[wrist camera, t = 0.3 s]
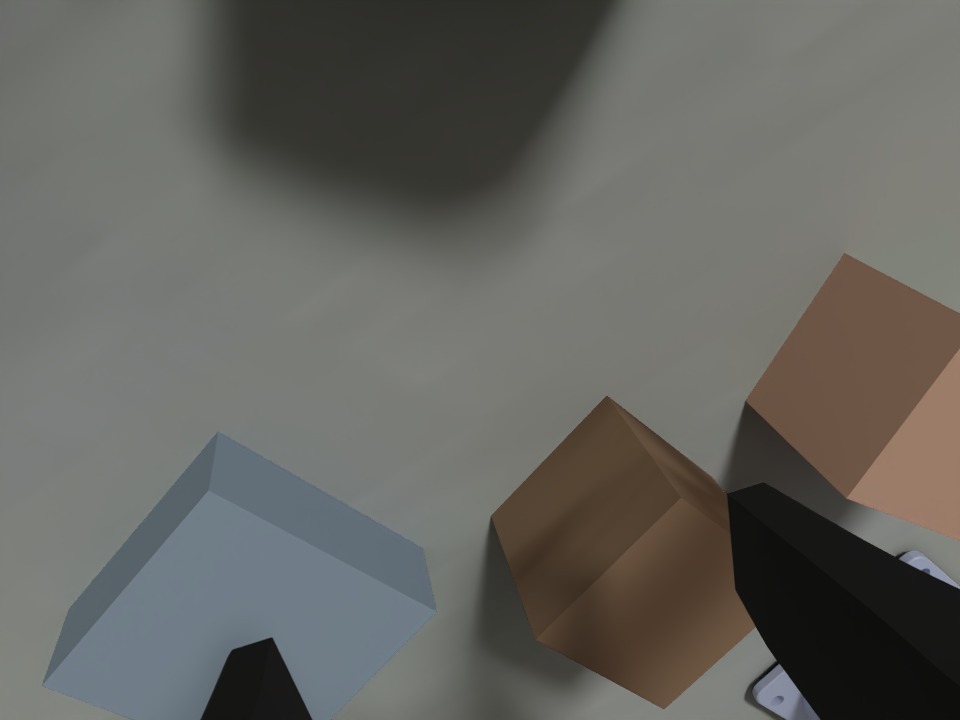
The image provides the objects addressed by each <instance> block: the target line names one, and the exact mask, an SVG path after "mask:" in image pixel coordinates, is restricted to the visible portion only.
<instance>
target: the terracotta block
mask: <svg viewBox="0 0 960 720" xmlns="http://www.w3.org/2000/svg"><path fill="white" fill-rule="evenodd" d="M746 402H747V403H748V404H749V405H750V406H751V407H752V408H753V409H754V410H755V411H756V412H757V413H759V414H760V415H761V416H762V417H763V418H764V419H765V420H766V421H767V422H768V423H769V424H770V425H771V426H772V427H773V428H774V429H775V430H776V431H777V432H778V433H779V434H780V435H781V436H782V437H783V438H784V439H785V440H786V441H787V442H788V443H790V444H791V445H792V446H793V447H794V448H795V449H796V450H797V451H798V452H799V453H800V454H801V455H802V456H803V457H804V458H805V459H806V460H807V461H808V462H809V463H810V464H811V465H812V466H813V467H814V468H815V469H816V470H817V471H818V472H819V473H821V474H822V475H823V476H824V477H825V478H826V479H827V480H828V481H829V482H830V483H831V484H832V485H833V486H834V487H835V488H836V489H837V490H838V491H839V492H840V493H841V494H842V495H843V496H844V497H845V498H846V499H849V500H852V501H854V502H857V503H860V504H862V505H865V506H868V507H870V508H873V509H876V510H879V511H881V512H884V513H887V514H889V515H892V516H895V517H897V518H900V519H903V520H906V521H908V522H911V523H914V524H916V525H919V526H922V527H924V528H927V529H930V530H933V531H935V532H938V533H941V534H943V535H946V536H949V537H951V538H954V539H957V540H960V313H958V312H956V311H954V310H952V309H950V308H948V307H946V306H944V305H942V304H941V303H939V302H937V301H935V300H933V299H931V298H929V297H927V296H925V295H923V294H921V293H920V292H918V291H916V290H914V289H912V288H910V287H908V286H906V285H904V284H902V283H900V282H899V281H897V280H895V279H893V278H891V277H889V276H887V275H885V274H883V273H881V272H880V271H878V270H876V269H874V268H872V267H870V266H868V265H866V264H864V263H862V262H860V261H859V260H857V259H855V258H853V257H851V256H849V255H847V254H845V253H844V255H843V256H842V258H841V259H840V261H839V262H838V264H837V265H836V267H835V268H834V269H833V271H832V272H831V274H830V275H829V277H828V278H827V280H826V281H825V283H824V284H823V286H822V287H821V289H820V290H819V292H818V293H817V295H816V296H815V298H814V299H813V301H812V302H811V304H810V305H809V307H808V308H807V310H806V311H805V313H804V314H803V316H802V317H801V319H800V320H799V322H798V323H797V325H796V326H795V328H794V329H793V331H792V332H791V334H790V335H789V337H788V338H787V340H786V341H785V343H784V344H783V346H782V347H781V349H780V350H779V352H778V353H777V355H776V356H775V358H774V359H773V361H772V362H771V364H770V365H769V367H768V368H767V370H766V371H765V373H764V374H763V376H762V377H761V378H760V380H759V381H758V383H757V384H756V386H755V387H754V389H753V390H752V392H751V393H750V395H749V396H748V398H747V399H746Z"/></svg>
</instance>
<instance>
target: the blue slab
mask: <svg viewBox="0 0 960 720" xmlns="http://www.w3.org/2000/svg"><path fill="white" fill-rule="evenodd" d="M436 612H437V610H436V606H435V601H434V597H433V592H432V588H431V583H430V579H429V574H428V570H427V565H426V561H425V556H424V552H423V548H422V547H420V546H418V545H417V544H415V543H413V542H411V541H410V540H408V539H406V538H404V537H403V536H401V535H399V534H397V533H396V532H394V531H392V530H390V529H389V528H387V527H385V526H383V525H382V524H380V523H378V522H376V521H375V520H373V519H371V518H369V517H368V516H366V515H364V514H362V513H361V512H359V511H357V510H355V509H354V508H352V507H350V506H348V505H347V504H345V503H343V502H341V501H340V500H338V499H336V498H334V497H333V496H331V495H329V494H327V493H326V492H324V491H322V490H320V489H319V488H317V487H315V486H313V485H312V484H310V483H308V482H306V481H305V480H303V479H301V478H299V477H298V476H296V475H294V474H292V473H291V472H289V471H287V470H285V469H284V468H282V467H280V466H278V465H277V464H275V463H273V462H271V461H270V460H268V459H266V458H264V457H263V456H261V455H259V454H257V453H256V452H254V451H252V450H250V449H249V448H247V447H245V446H243V445H242V444H240V443H238V442H236V441H235V440H233V439H231V438H229V437H228V436H226V435H224V434H222V433H221V432H219V431H218V432H217V434H216V435H215V436H214V437H213V438H212V439H211V441H210V442H209V443H208V444H207V445H206V447H205V448H204V449H203V450H202V451H201V453H200V454H199V455H198V456H197V457H196V459H195V460H194V461H193V462H192V463H191V464H190V466H189V467H188V468H187V469H186V470H185V472H184V473H183V474H182V475H181V476H180V478H179V479H178V480H177V481H176V482H175V483H174V485H173V486H172V487H171V488H170V489H169V491H168V492H167V493H166V494H165V495H164V497H163V498H162V499H161V500H160V501H159V503H158V504H157V505H156V506H155V507H154V508H153V510H152V511H151V512H150V513H149V514H148V516H147V517H146V518H145V519H144V520H143V522H142V523H141V524H140V525H139V526H138V528H137V529H136V530H135V531H134V532H133V533H132V535H131V536H130V537H129V538H128V539H127V541H126V542H125V543H124V544H123V545H122V547H121V548H120V549H119V550H118V551H117V553H116V554H115V555H114V556H113V557H112V558H111V560H110V561H109V562H108V563H107V564H106V566H105V567H104V568H103V569H102V570H101V572H100V573H99V574H98V575H97V576H96V577H95V579H94V580H93V581H92V582H91V583H90V585H89V586H88V587H87V588H86V589H85V591H84V592H83V593H82V594H81V595H80V597H79V598H78V599H77V600H76V601H75V602H74V604H73V605H72V606H71V607H70V608H69V610H68V613H67V616H66V619H65V622H64V624H63V627H62V630H61V633H60V636H59V639H58V641H57V644H56V647H55V650H54V653H53V656H52V658H51V661H50V664H49V667H48V670H47V673H46V675H45V678H44V681H43V684H42V686H43V687H46V688H48V689H51V690H54V691H56V692H59V693H62V694H65V695H67V696H70V697H73V698H75V699H78V700H81V701H84V702H86V703H89V704H92V705H94V706H97V707H100V708H103V709H105V710H108V711H111V712H113V713H116V714H119V715H121V716H124V717H127V718H130V719H132V720H200V719H201V717H202V715H203V712H204V710H205V708H206V706H207V703H208V701H209V699H210V696H211V694H212V692H213V690H214V687H215V685H216V683H217V680H218V678H219V676H220V673H221V671H222V669H223V666H224V664H225V662H226V659H227V657H228V655H229V654H230V652H231V651H232V649H236V648H239V647H242V646H245V645H248V644H252V643H255V642H258V641H261V640H264V639H267V638H271V637H273V639H274V642H275V644H276V646H277V648H278V650H279V652H280V654H281V656H282V658H283V660H284V662H285V664H286V666H287V668H288V670H289V672H290V674H291V676H292V679H293V681H294V683H295V685H296V687H297V689H298V691H299V693H300V695H301V697H302V699H303V701H304V703H305V705H306V707H307V709H308V711H309V713H310V716H311V718H312V720H331V719H332V718H333V717H334V716H335V715H336V714H337V713H338V712H339V711H340V710H341V709H342V708H343V707H344V706H345V705H346V704H347V703H348V702H349V701H350V700H351V699H352V698H353V697H354V696H355V695H356V694H357V693H358V692H359V691H360V690H361V689H362V688H363V686H364V685H365V684H366V683H367V682H368V681H369V680H370V679H371V678H372V677H373V676H374V675H375V674H376V673H377V672H378V671H379V670H380V669H381V668H382V667H383V666H384V665H385V664H386V663H387V662H388V661H389V660H390V659H391V658H392V657H393V656H394V655H395V654H396V653H397V652H398V651H399V650H400V649H401V648H402V647H403V646H404V645H405V644H406V643H407V642H408V641H409V640H410V639H411V638H412V637H413V636H414V635H415V634H416V633H417V632H418V631H419V630H420V628H421V627H422V626H423V625H424V624H425V623H426V622H427V621H428V620H429V619H430V618H431V617H432V616H433V615H434V614H435V613H436Z"/></svg>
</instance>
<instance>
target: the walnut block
mask: <svg viewBox="0 0 960 720" xmlns="http://www.w3.org/2000/svg"><path fill="white" fill-rule="evenodd" d="M491 517H492V520H493V523H494V526H495V528H496V531H497V534H498V537H499V540H500V542H501V545H502V548H503V551H504V554H505V556H506V559H507V562H508V565H509V568H510V570H511V573H512V576H513V579H514V582H515V584H516V587H517V590H518V593H519V596H520V599H521V601H522V604H523V607H524V610H525V613H526V615H527V618H528V621H529V624H530V627H531V629H532V632H533V635H534V638H535V640H536V641H538V642H540V643H542V644H544V645H546V646H548V647H549V648H551V649H553V650H555V651H557V652H559V653H561V654H562V655H564V656H566V657H568V658H570V659H572V660H574V661H575V662H577V663H579V664H581V665H583V666H585V667H586V668H588V669H590V670H592V671H594V672H596V673H598V674H599V675H601V676H603V677H605V678H607V679H609V680H611V681H612V682H614V683H616V684H618V685H620V686H622V687H624V688H625V689H627V690H629V691H631V692H633V693H635V694H637V695H638V696H640V697H642V698H644V699H646V700H648V701H650V702H651V703H653V704H655V705H657V706H659V707H661V708H662V709H665V708H666V707H667V706H668V705H669V704H671V703H672V702H673V701H674V700H675V699H676V698H677V697H678V696H679V695H681V694H682V693H683V692H684V691H685V690H686V689H687V688H688V687H689V686H691V685H692V684H693V683H694V682H695V681H696V680H697V679H698V678H699V677H701V676H702V675H703V674H704V673H705V672H706V671H707V670H708V669H709V668H711V667H712V666H713V665H714V664H715V663H716V662H717V661H718V660H719V659H721V658H722V657H723V656H724V655H725V654H726V653H727V652H728V651H729V650H731V649H732V648H733V647H734V646H735V645H736V644H737V643H738V642H739V641H741V640H742V639H743V638H744V637H745V636H746V635H747V634H748V633H749V632H751V631H752V630H753V629H754V628H755V627H756V626H755V625H754V623H753V621H752V619H751V618H750V616H749V614H748V612H747V610H746V608H745V607H744V605H743V603H742V601H741V599H740V598H739V596H738V594H737V592H736V590H735V582H734V570H733V558H732V546H731V535H730V523H729V511H728V499H727V495H726V494H725V492H724V491H723V490H722V489H721V487H720V486H719V485H718V484H717V483H716V481H715V480H714V479H713V478H712V477H711V476H710V475H708V474H707V473H706V472H705V471H703V470H702V469H701V468H699V467H698V466H697V465H696V464H694V463H693V462H692V461H690V460H689V459H688V458H687V457H685V456H684V455H683V454H681V453H680V452H679V451H678V450H676V449H675V448H674V447H672V446H671V445H670V444H669V443H667V442H666V441H665V440H663V439H662V438H661V437H660V436H658V435H657V434H656V433H654V432H653V431H652V430H651V429H649V428H648V427H647V426H645V425H644V424H643V423H642V422H640V421H639V420H638V419H636V418H635V417H634V416H633V415H631V414H630V413H629V412H627V411H626V410H625V409H624V408H622V407H621V406H620V405H618V404H617V403H616V402H615V401H613V400H612V399H611V398H609V397H608V396H606V397H605V398H604V399H603V400H602V401H601V402H600V403H599V404H598V405H597V406H596V407H595V408H594V409H593V410H592V412H591V413H590V414H589V415H588V416H587V417H586V418H585V419H584V420H583V421H582V422H581V423H580V424H579V425H578V426H577V427H576V428H575V429H574V430H573V431H572V432H571V433H570V434H569V435H568V436H567V438H566V439H565V440H564V441H563V442H562V443H561V444H560V445H559V446H558V447H557V448H556V449H555V450H554V451H553V452H552V453H551V454H550V455H549V456H548V457H547V458H546V459H545V460H544V461H543V462H542V464H541V465H540V466H539V467H538V468H537V469H536V470H535V471H534V472H533V473H532V474H531V475H530V476H529V477H528V478H527V479H526V480H525V481H524V482H523V483H522V484H521V485H520V486H519V487H518V488H517V490H516V491H515V492H514V493H513V494H512V495H511V496H510V497H509V498H508V499H507V500H506V501H505V502H504V503H503V504H502V505H501V506H500V507H499V508H498V509H497V510H496V511H495V512H494V513H493V514H492V516H491Z"/></svg>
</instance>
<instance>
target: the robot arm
mask: <svg viewBox="0 0 960 720" xmlns="http://www.w3.org/2000/svg"><path fill="white" fill-rule="evenodd" d="M727 499H728V511H729V523H730V535H731V546H732V558H733V570H734V582H735V590H736V592H737V594H738V596H739V598H740V599H741V601H742V603H743V605H744V607H745V608H746V610H747V612H748V614H749V616H750V618H751V619H752V621H753V623H754V625H755V626H756V628H757V630H758V632H759V633H760V635H761V637H762V638H763V640H764V642H765V644H766V645H767V647H768V649H769V650H770V651H771V653H772V654H773V656H774V657H775V658H776V660H777V661H778V663H779V664H778V665H777V666H776V667H775V668H774V669H773V670H772V671H770V672H769V673H768V674H767V675H766V676H765V677H764V678H762V679H761V680H760V681H759V682H758V683H757V684H756V685H755V686H754V688H753V691H752V693H753V696H754V698H755V699H756V701H757V702H758V703H759V704H760V705H762V706H764V707H765V708H767V709H769V710H770V711H772V712H774V713H776V714H777V715H779V716H781V717H782V718H784V719H786V720H960V586H959V585H958V584H956V583H955V582H954V581H953V580H952V579H951V578H950V577H948V576H947V575H946V574H945V573H944V572H943V571H942V570H940V569H939V568H938V567H937V566H936V565H935V564H934V563H932V562H931V561H930V560H929V559H928V558H927V557H926V556H924V555H923V554H922V553H921V552H919V551H910V552H907V553H905V554H904V555H903V556H901V557H900V558H899V559H898V558H896V557H894V556H892V555H891V554H889V553H887V552H885V551H883V550H881V549H879V548H878V547H876V546H874V545H872V544H870V543H868V542H866V541H865V540H863V539H861V538H859V537H857V536H856V535H854V534H852V533H850V532H848V531H847V530H845V529H843V528H841V527H840V526H838V525H836V524H835V523H833V522H831V521H829V520H828V519H826V518H824V517H822V516H821V515H819V514H817V513H815V512H814V511H812V510H810V509H809V508H807V507H805V506H804V505H802V504H800V503H798V502H797V501H795V500H793V499H792V498H790V497H788V496H786V495H785V494H783V493H781V492H780V491H778V490H776V489H774V488H773V487H771V486H769V485H767V484H766V483H760V484H757V485H754V486H751V487H748V488H744V489H741V490H738V491H735V492H732V493H729V494H727ZM200 720H312V718H311V716H310V713H309V711H308V709H307V707H306V705H305V703H304V701H303V699H302V697H301V695H300V693H299V691H298V689H297V687H296V685H295V683H294V681H293V679H292V676H291V674H290V672H289V670H288V668H287V666H286V664H285V662H284V660H283V658H282V656H281V654H280V652H279V650H278V648H277V646H276V644H275V642H274V639H273V637H271V638H267V639H264V640H261V641H258V642H255V643H252V644H248V645H245V646H242V647H239V648H236V649H232V651H231V652H230V654H229V655H228V657H227V659H226V662H225V664H224V666H223V669H222V671H221V673H220V676H219V678H218V680H217V683H216V685H215V687H214V690H213V692H212V694H211V696H210V699H209V701H208V703H207V706H206V708H205V710H204V712H203V715H202V717H201V719H200Z"/></svg>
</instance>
